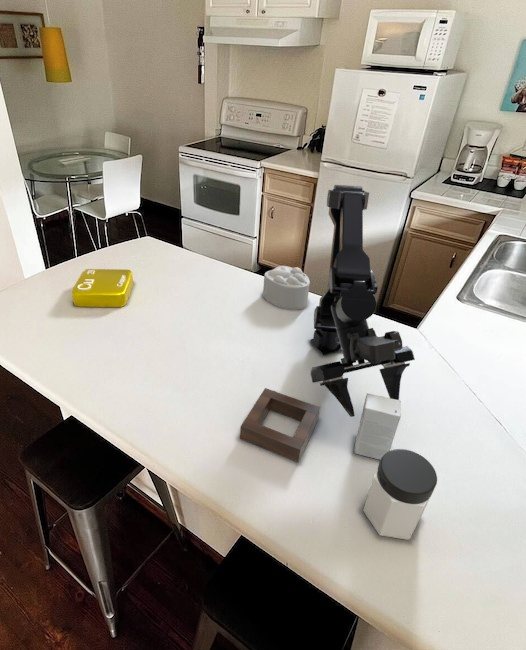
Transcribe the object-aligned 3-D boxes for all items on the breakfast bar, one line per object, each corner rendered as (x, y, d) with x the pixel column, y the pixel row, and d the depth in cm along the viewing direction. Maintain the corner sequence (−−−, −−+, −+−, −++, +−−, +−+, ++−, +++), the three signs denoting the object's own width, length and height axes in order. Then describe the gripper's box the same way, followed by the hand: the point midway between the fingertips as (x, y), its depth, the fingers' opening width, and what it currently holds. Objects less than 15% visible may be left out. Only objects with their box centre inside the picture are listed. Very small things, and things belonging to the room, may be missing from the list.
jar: (378, 483, 78) (394, 438, 71) (425, 511, 74) (446, 465, 67) (355, 520, 72) (369, 474, 66) (404, 552, 68) (424, 506, 61)
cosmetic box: (387, 445, 85) (402, 400, 78) (386, 462, 82) (401, 417, 75) (355, 436, 87) (366, 392, 80) (352, 453, 83) (364, 408, 77)
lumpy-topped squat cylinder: (282, 284, 136) (284, 258, 131) (315, 301, 128) (319, 274, 123) (258, 296, 130) (259, 270, 125) (292, 314, 122) (295, 287, 117)
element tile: (125, 307, 124) (123, 293, 122) (72, 307, 124) (68, 292, 122) (134, 281, 137) (133, 267, 134) (86, 280, 137) (83, 267, 134)
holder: (264, 399, 95) (265, 387, 93) (318, 419, 90) (320, 407, 88) (239, 438, 86) (240, 426, 84) (298, 462, 82) (300, 450, 80)
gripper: (327, 328, 72) (352, 423, 70) (421, 309, 77) (448, 397, 75) (300, 339, 83) (321, 422, 81) (385, 322, 88) (407, 400, 86)
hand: (374, 410), depth 80 cm, fingers open, 9 cm apart
